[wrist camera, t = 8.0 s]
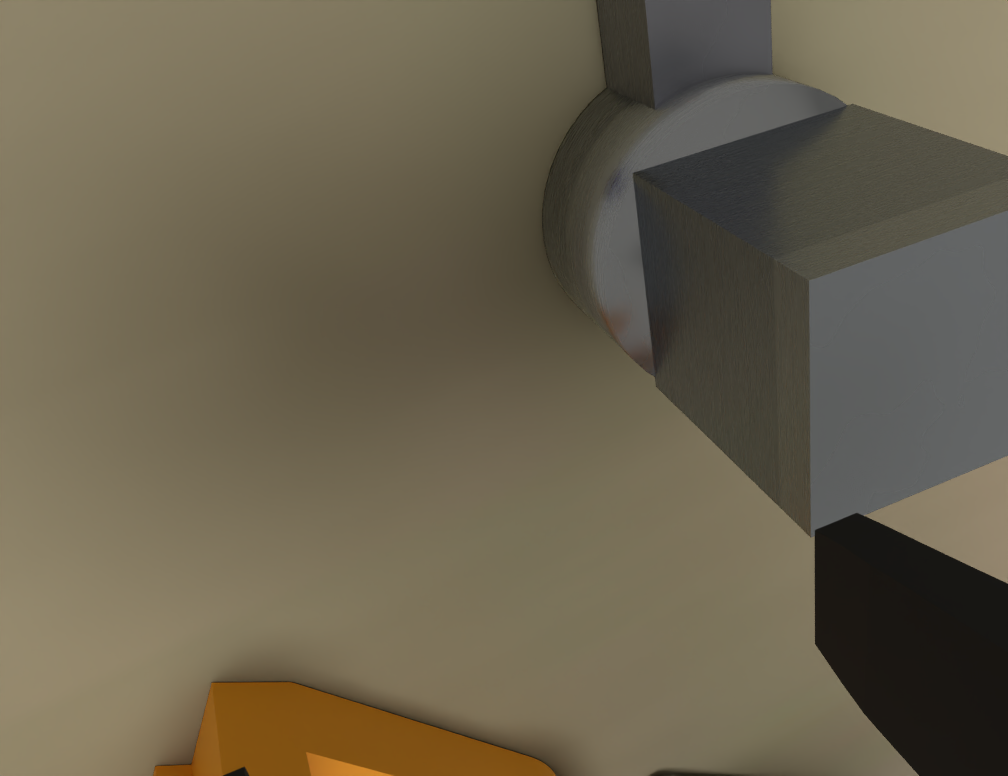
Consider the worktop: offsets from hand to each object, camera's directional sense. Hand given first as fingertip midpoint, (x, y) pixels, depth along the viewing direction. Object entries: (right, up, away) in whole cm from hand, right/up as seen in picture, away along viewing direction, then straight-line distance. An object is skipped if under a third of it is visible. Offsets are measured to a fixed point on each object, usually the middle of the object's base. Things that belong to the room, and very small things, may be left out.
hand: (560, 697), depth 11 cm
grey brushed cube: (+4, +6, +7) cm, 10 cm away
